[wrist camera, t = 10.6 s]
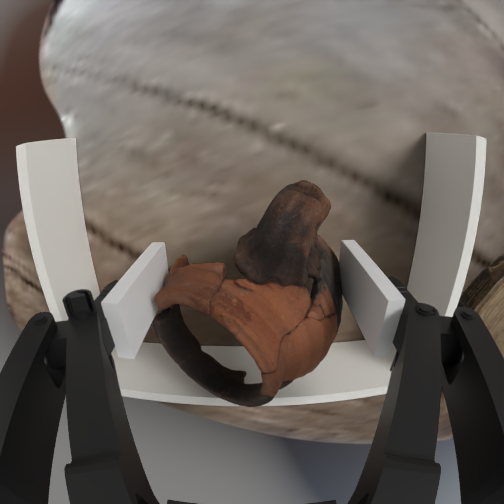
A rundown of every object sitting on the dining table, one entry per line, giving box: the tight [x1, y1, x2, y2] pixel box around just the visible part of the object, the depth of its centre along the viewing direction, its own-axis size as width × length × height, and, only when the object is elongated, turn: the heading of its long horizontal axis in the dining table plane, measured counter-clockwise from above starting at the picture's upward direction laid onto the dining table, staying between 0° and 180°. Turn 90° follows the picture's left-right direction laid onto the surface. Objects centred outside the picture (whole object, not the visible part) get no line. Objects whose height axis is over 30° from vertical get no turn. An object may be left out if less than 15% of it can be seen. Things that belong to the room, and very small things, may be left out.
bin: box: [16, 132, 486, 406], centre depth 15 cm, size 24×16×5 cm
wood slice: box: [457, 255, 504, 358], centre depth 19 cm, size 16×16×3 cm
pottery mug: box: [152, 180, 343, 407], centre depth 15 cm, size 12×10×8 cm
